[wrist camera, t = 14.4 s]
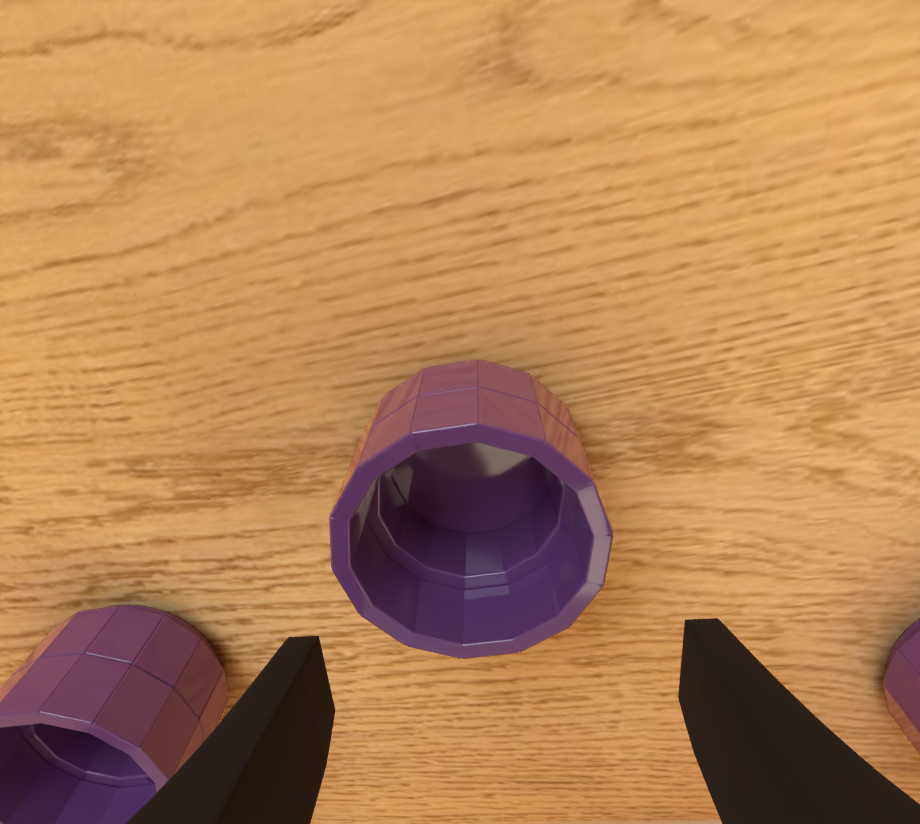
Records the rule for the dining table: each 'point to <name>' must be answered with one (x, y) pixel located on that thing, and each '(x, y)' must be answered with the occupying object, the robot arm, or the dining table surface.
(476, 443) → the purple cup
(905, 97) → the dining table surface
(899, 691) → the purple cup
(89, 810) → the purple faceted cup
